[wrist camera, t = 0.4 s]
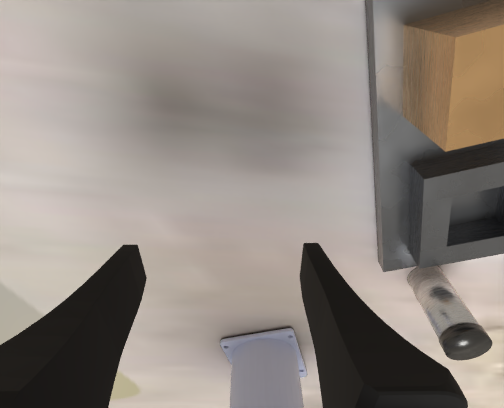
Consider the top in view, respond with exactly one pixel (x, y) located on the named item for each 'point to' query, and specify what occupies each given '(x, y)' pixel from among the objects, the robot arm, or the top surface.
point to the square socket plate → (437, 129)
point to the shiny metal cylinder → (448, 315)
